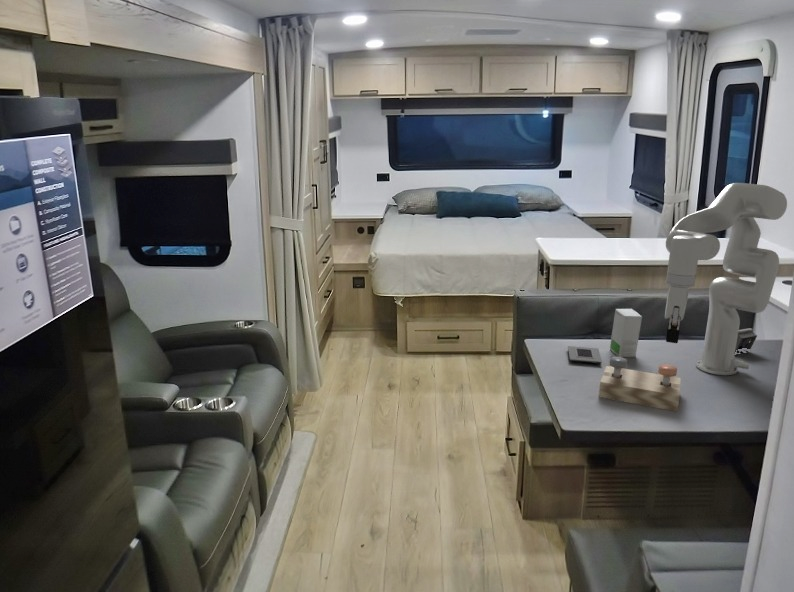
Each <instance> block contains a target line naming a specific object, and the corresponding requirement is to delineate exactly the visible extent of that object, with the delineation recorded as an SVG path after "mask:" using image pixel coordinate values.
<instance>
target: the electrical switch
mask: <svg viewBox="0 0 794 592" xmlns="http://www.w3.org/2000/svg"><path fill="white" fill-rule="evenodd" d="M753 331H754V330H753V328H750V327H749V328H743V329H739V331H738V337H737V342H736V348H735V352H736V350H738V349H742V348H747V349H750V350H751V349H752V347H753V346H754V343H755V341H756V340H757V337H758V334H756V333H754V332H753Z"/></svg>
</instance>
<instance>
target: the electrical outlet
mask: <svg viewBox="0 0 794 592" xmlns="http://www.w3.org/2000/svg"><path fill="white" fill-rule="evenodd" d="M567 350H568V355H569V361H570V362H577V363H588V364H599V365H600V364H602V363H603V361H602V357H601V353H600V350H599V348H597V347H587V346H585V347H584V346H572V345H571V346H570V345H567Z"/></svg>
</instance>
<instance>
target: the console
mask: <svg viewBox="0 0 794 592" xmlns="http://www.w3.org/2000/svg"><path fill="white" fill-rule="evenodd" d="M613 374H614V367H612V366H610V365H606V366H605V367H604V370H603V374H602V377H601V378H600V382H599V390H598V398H601V397H604V398H603V399H606V398H609V399H608V400H612V399H614V400H613V401H617V400H619V402H623V401H624V403H628V402H629V403H630V404H635V405H638V406H639V405H640V406H646V407H651V408H656V409H663V410H667V411H672V412H673V411H674V412H678V408H679V404H680V403H679V402H680V394H681V384H682V383H681V381H682V379H681V377H677V376H673V377H670V384H669V386H663V385H662V381H663V375H661V374H659V373H653V372H647V371H640V370H635V369H628V368H621V374H620V378H616V377H613ZM629 403H628V404H629Z"/></svg>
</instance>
